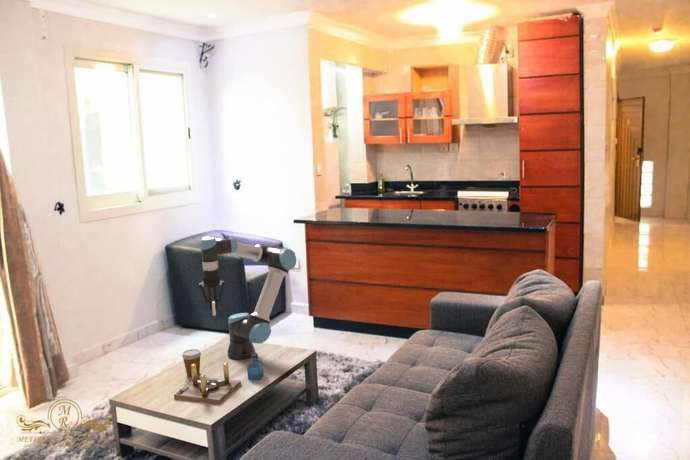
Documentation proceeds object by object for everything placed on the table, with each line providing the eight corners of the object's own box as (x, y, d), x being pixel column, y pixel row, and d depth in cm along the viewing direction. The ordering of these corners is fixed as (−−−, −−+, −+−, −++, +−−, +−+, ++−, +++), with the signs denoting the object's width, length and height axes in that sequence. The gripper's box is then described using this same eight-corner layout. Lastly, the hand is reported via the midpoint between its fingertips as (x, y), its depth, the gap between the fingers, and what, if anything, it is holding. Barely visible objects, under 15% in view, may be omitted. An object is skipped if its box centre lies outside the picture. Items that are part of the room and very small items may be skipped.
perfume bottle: (259, 380, 286) (258, 357, 284) (248, 379, 288) (246, 357, 286) (264, 375, 292) (262, 352, 290) (252, 374, 294) (251, 352, 292)
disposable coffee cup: (202, 369, 302) (200, 347, 300) (202, 376, 293) (200, 354, 291) (184, 371, 300) (182, 350, 298) (183, 379, 291) (181, 356, 289)
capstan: (179, 390, 273) (177, 371, 271) (206, 375, 288) (204, 357, 287) (204, 396, 265) (202, 377, 263) (230, 381, 280) (229, 363, 279)
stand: (198, 379, 290) (197, 372, 289) (241, 384, 282) (240, 377, 282) (174, 398, 270) (173, 391, 269) (219, 404, 263) (218, 396, 262)
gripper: (223, 266, 290) (227, 311, 294) (197, 268, 287) (201, 313, 291) (224, 269, 282) (227, 315, 286) (196, 271, 280) (200, 318, 284)
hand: (214, 314), depth 289 cm, fingers closed
